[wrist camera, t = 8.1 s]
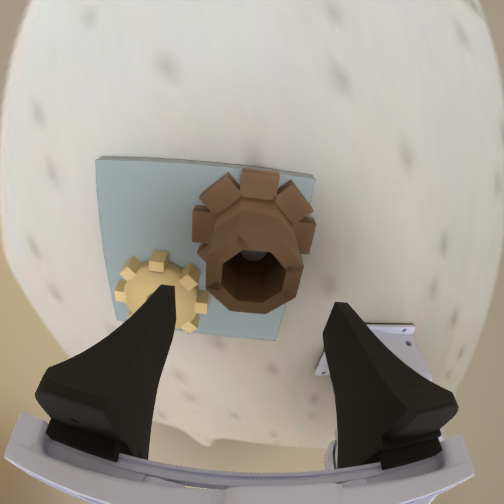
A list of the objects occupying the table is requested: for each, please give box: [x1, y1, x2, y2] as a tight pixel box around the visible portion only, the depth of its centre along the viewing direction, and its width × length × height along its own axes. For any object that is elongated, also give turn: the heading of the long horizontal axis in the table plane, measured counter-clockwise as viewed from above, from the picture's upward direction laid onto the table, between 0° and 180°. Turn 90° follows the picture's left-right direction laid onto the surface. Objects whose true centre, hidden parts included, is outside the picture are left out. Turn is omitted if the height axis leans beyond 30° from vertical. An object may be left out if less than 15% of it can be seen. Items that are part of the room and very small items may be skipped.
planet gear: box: [192, 168, 316, 314], centre depth 17 cm, size 8×8×6 cm
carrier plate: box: [95, 157, 315, 341], centre depth 21 cm, size 15×15×4 cm
